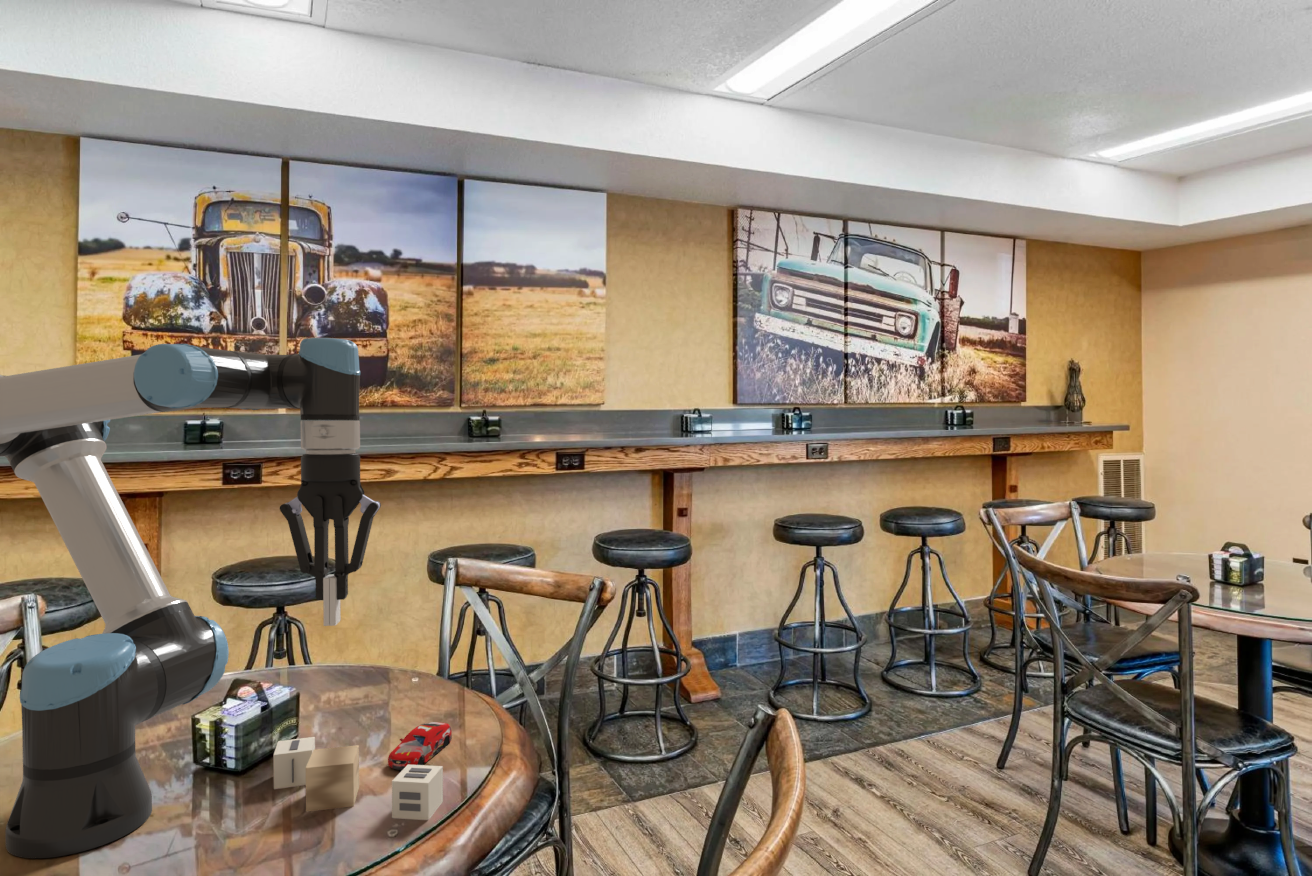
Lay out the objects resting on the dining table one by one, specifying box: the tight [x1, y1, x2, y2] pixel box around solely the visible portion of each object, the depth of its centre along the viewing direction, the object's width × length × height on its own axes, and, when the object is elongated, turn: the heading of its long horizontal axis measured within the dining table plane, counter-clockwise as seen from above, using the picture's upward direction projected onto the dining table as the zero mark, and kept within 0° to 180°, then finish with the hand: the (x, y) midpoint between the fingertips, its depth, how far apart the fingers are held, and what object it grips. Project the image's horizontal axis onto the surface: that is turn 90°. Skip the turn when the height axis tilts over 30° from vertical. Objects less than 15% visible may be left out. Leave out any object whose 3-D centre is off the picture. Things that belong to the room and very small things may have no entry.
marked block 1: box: [273, 736, 316, 790], centre depth 113 cm, size 5×6×5 cm
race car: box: [387, 721, 453, 771], centre depth 122 cm, size 13×5×4 cm, turn 165°
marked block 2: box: [391, 764, 444, 821], centre depth 105 cm, size 5×5×5 cm
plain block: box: [305, 744, 360, 813], centre depth 108 cm, size 6×6×6 cm
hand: (332, 623), depth 107 cm, fingers closed
